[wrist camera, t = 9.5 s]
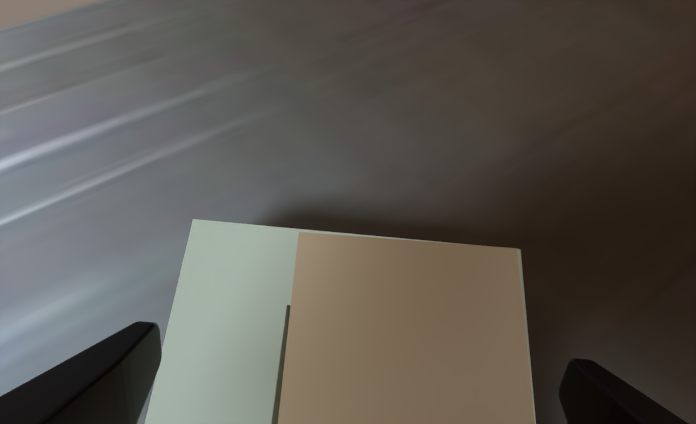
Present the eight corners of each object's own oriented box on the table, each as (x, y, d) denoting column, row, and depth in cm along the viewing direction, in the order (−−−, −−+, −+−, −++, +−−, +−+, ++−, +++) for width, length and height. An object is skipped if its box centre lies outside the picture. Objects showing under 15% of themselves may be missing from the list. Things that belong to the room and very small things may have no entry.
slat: (377, 349, 17) (517, 248, 5) (373, 482, 15) (577, 832, 3) (314, 345, 17) (298, 232, 5) (302, 478, 15) (234, 824, 3)
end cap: (482, 276, 19) (520, 249, 16) (499, 616, 15) (560, 692, 11) (217, 252, 19) (193, 219, 15) (148, 592, 14) (88, 662, 11)
